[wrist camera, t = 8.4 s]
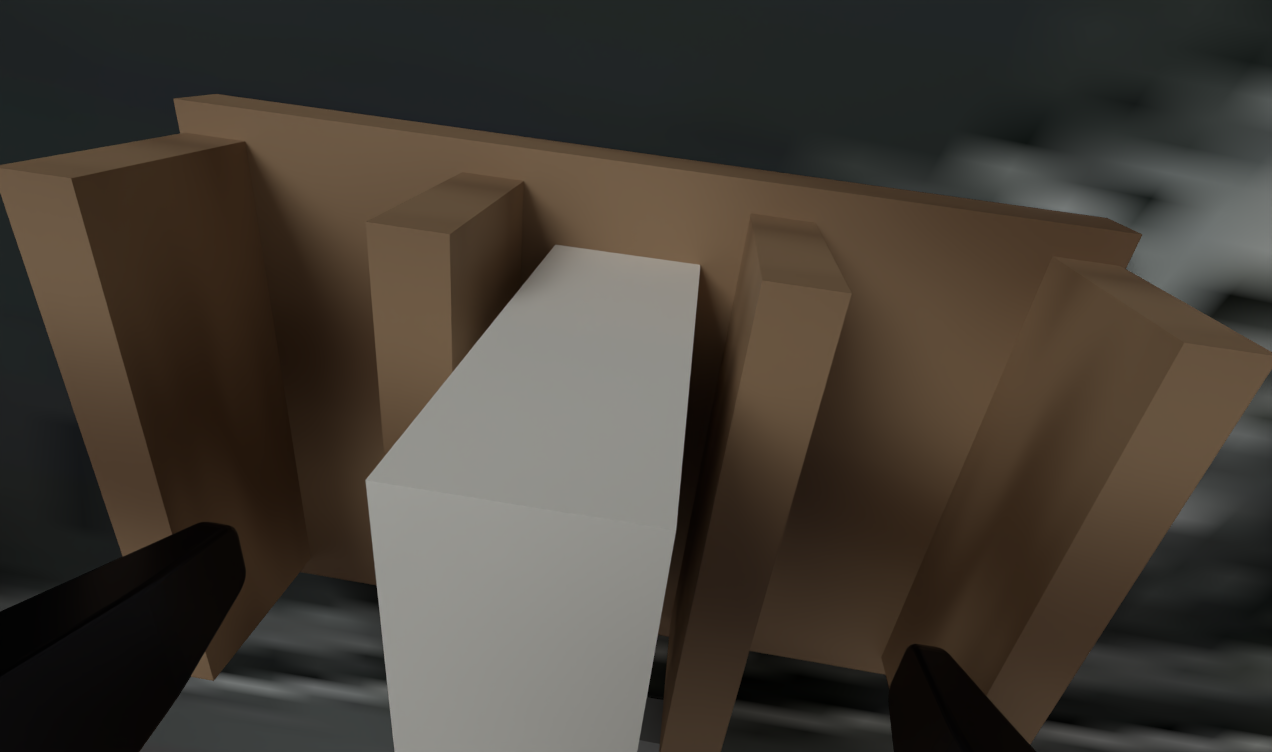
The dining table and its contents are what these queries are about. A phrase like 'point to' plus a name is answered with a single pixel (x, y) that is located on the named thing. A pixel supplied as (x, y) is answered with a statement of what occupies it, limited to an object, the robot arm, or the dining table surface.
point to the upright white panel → (539, 515)
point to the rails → (651, 726)
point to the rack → (718, 391)
